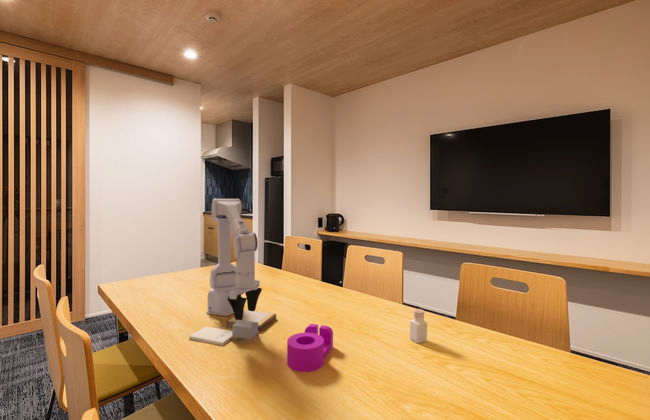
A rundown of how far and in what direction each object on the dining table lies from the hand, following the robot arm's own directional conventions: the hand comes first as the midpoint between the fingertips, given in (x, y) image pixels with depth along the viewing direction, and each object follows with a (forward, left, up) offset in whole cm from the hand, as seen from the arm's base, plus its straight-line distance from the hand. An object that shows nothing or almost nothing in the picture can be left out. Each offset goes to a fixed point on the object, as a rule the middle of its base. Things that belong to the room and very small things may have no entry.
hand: (245, 315), depth 101 cm
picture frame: (-5, +12, -8) cm, 15 cm away
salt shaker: (+52, +16, -8) cm, 55 cm away
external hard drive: (-10, -2, -8) cm, 13 cm away
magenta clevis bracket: (+23, -4, -8) cm, 25 cm away
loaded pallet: (0, 0, -8) cm, 8 cm away
